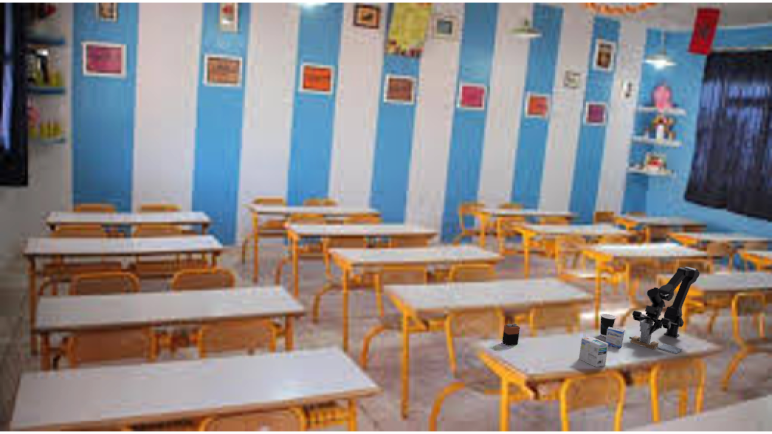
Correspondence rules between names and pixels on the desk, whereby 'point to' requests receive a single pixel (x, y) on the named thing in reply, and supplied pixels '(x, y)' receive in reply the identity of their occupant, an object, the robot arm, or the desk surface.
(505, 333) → the battery
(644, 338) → the grey stone block
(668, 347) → the mat
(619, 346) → the medicine box
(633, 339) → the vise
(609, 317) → the dixie cup
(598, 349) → the light bulb box
